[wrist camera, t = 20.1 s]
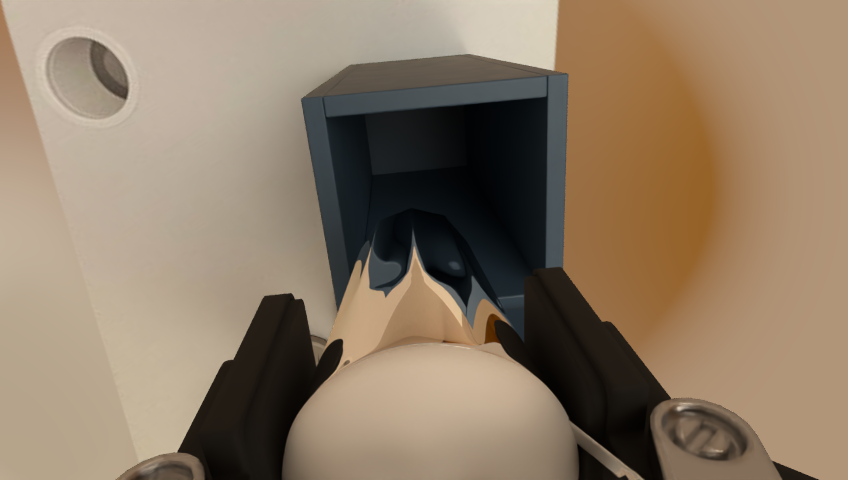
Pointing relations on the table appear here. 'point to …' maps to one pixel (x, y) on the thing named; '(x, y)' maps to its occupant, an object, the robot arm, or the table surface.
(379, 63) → the box
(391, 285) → the milkshake
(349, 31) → the table surface
